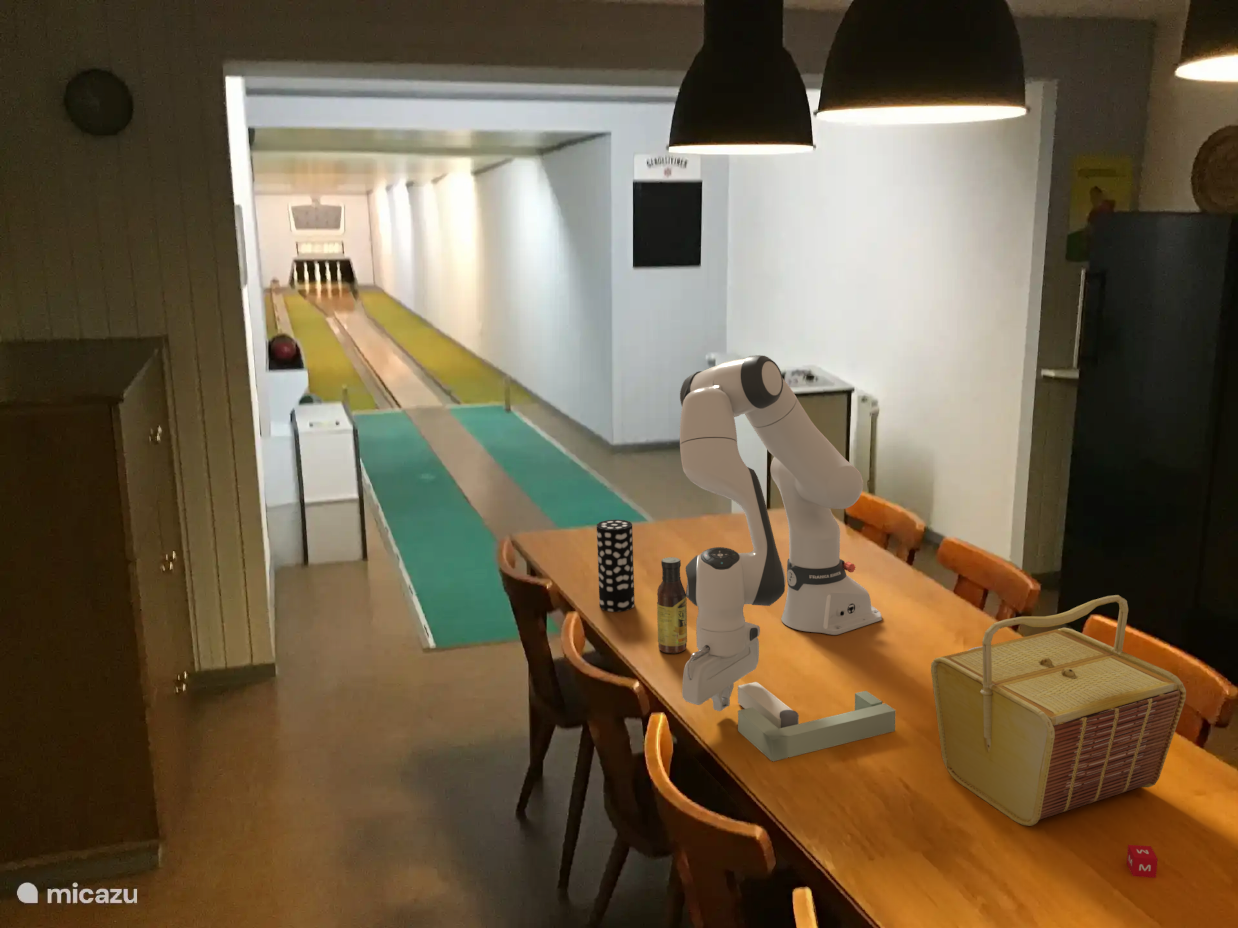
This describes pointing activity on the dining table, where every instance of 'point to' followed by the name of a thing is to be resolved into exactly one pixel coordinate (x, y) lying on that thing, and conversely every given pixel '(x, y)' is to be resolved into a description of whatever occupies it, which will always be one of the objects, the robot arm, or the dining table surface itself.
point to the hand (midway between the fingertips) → (721, 707)
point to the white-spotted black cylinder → (615, 565)
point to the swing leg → (766, 705)
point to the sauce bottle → (671, 608)
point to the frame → (817, 729)
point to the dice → (1142, 861)
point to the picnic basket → (1054, 717)
